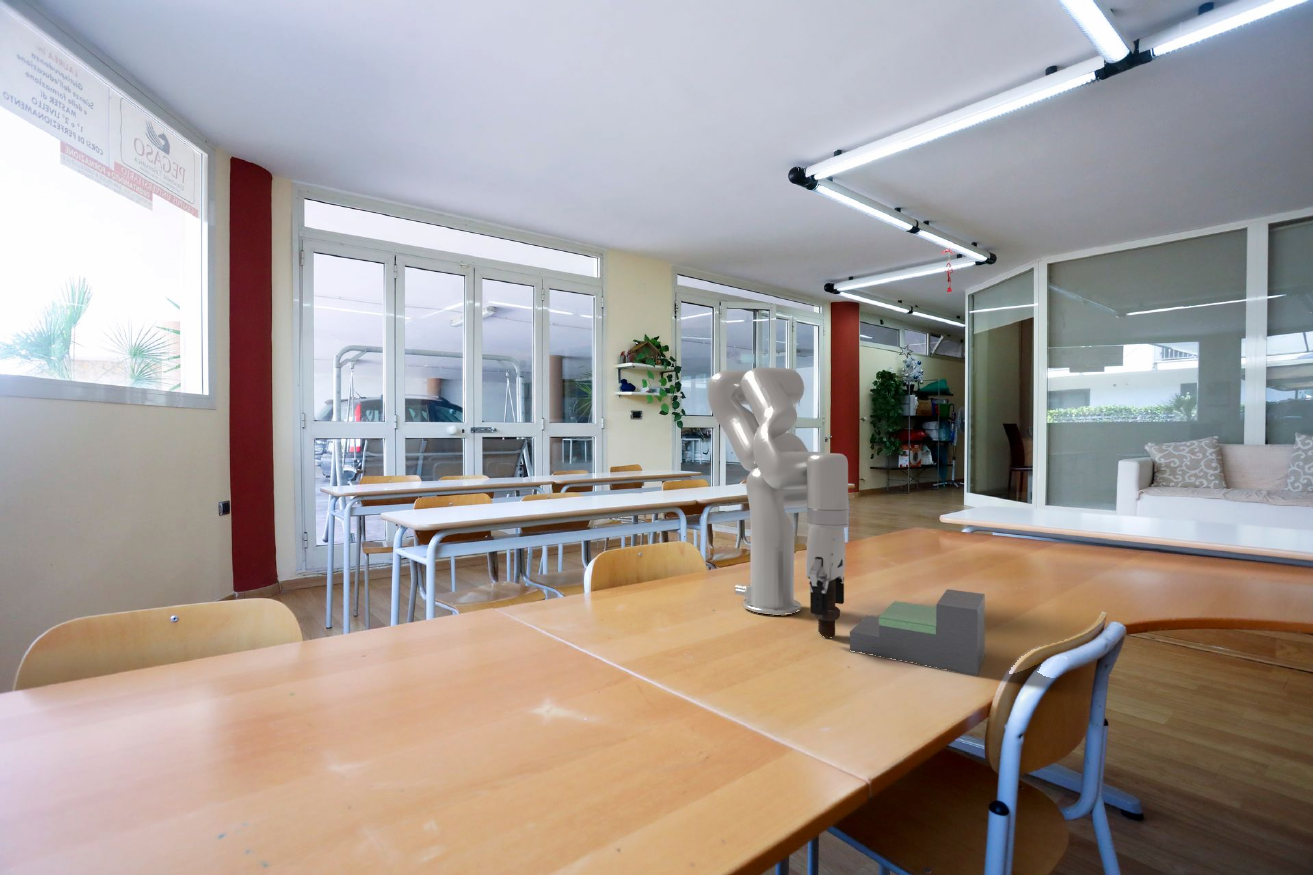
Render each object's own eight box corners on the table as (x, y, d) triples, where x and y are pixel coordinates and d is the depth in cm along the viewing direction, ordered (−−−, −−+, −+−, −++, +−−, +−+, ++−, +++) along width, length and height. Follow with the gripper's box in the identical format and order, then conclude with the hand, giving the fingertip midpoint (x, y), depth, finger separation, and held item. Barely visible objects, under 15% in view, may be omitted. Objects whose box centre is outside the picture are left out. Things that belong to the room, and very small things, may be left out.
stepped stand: (849, 651, 107) (849, 592, 107) (867, 633, 117) (867, 578, 117) (977, 676, 96) (977, 610, 96) (984, 653, 106) (984, 593, 106)
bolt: (839, 632, 118) (840, 555, 118) (845, 641, 113) (845, 560, 113) (809, 631, 118) (809, 554, 118) (813, 639, 113) (813, 559, 113)
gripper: (822, 512, 125) (822, 596, 124) (792, 521, 110) (792, 616, 110) (859, 515, 120) (860, 601, 120) (833, 524, 106) (833, 622, 106)
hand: (827, 608), depth 115 cm, fingers open, 9 cm apart
